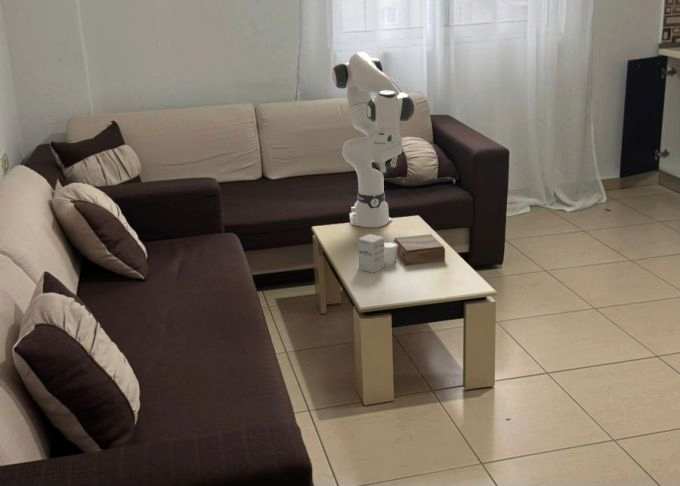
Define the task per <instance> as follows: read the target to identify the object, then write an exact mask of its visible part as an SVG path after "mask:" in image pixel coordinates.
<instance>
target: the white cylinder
mask: <svg viewBox="0 0 680 486" xmlns="http://www.w3.org/2000/svg"><path fill="white" fill-rule="evenodd" d="M397 247H398V245H397V244H396V243H394V241H384V265H392V264H395V263H396V262H397V257H398V256H397Z"/></svg>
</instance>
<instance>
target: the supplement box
mask: <svg viewBox="0 0 680 486" xmlns="http://www.w3.org/2000/svg"><path fill="white" fill-rule="evenodd" d="M384 242H385V237H384V236H383V237H382V236H379V235H375V234H371V233H368V234H366V235H363V236H361V237H359V238H358V244H357V245H358V269H359V270H362V271H366V272H369V273H372V274H374V273H376V272H379V271H381V270H382V269H384V268H385V263H384Z"/></svg>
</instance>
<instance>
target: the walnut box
mask: <svg viewBox="0 0 680 486" xmlns="http://www.w3.org/2000/svg"><path fill="white" fill-rule="evenodd" d="M393 242H394V243H396V244H397V245H398V247H397V257H398V258H399V260H400V261H401V262H402V263H403V264H404V265H405V266H411V265H421V264H429V263H438V262H445V261H446V248H445V247H444V245H443V244H442V243H441V242H440V241H439V240H437V238H436V237H434V235H433V234H432V233H430V234H429V233H427V234H421V235H418V234H417V235H409V236H408V235H407V236H401V237H394V239H393Z"/></svg>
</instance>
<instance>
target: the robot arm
mask: <svg viewBox="0 0 680 486" xmlns="http://www.w3.org/2000/svg"><path fill="white" fill-rule="evenodd" d="M331 78H332V79H331V80H332V81H333V84H334V85H335V87H336V88H337V89H346V99H347V106H348V112H349V116H350V120H351V124H352V127H353V128H354V129H355V130H358V131H360V132H362V133H363V134H364V135H365V136H363V137H355V138H352V139H349V140H346V141H345V142H344V144H343V145H342V148H341V154H342V157H343V159H344V160H345V161H346V162H347V163H348V164H349V165H351V167H353V168H354V170H355V172H356V175H357V183H358V185H357V186H358V192H357V195H356V196H357V200H356V201H355V203H354V205H353V206H351V208H350V212H349V215H348V216H349V221H350V225H351V226H358V227H363V228H379V227H380V228H381V227H383V226H386V225H387V224H388V223H391V222H393V219H392V218H393V217H392V218H391V216H389V214H390V212H389V205H388V202H386V193H385V191H384V187H385V186H384V184H385V183H384V181H385V180H384V179H385V178H384V173H386V172H387V167H386V162H387V161H388V160H390V159H391V162H390V167H391V168H396V167H397V160H398V155H400V154H402V152H403V140H402V136H401V134H400V123H399V122H408V121H409V120H410V119H412V117H413V116H414V114H415V105H414V101H413V100H412V98H411V97H410V96H409V95H408V94H406V93H405V92H404V91H403V89H401V87H400V86H399V85H398V83H397V82H396V81H395V80H394V79H393V78H392V77H391V76H390V75H388V74H386V73H384V67H383V65H382V62H381V60H379V59H378V58H374V57H371V56H370V55H368V54H367V53H366V52H362V51H361V52H356V53H354V54H352V55H351V57H350V58H349V61H348V62H343V63H341V62H340V63H339V64H336V65H335V66H333V68H332V72H331ZM371 93H374V94H375V93H376V96H375V97H374V98H373V97H372V94H371ZM372 163H375V164H378V166H379V168H380V170H378V169H376V168H374V167H373V165H372Z"/></svg>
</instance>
